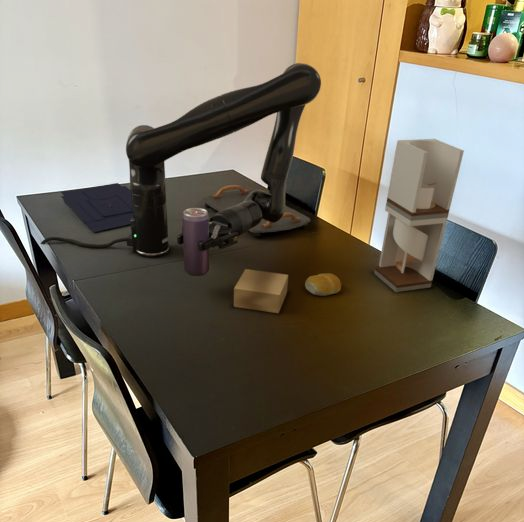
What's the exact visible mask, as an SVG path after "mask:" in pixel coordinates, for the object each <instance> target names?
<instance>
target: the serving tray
mask: <svg viewBox="0 0 524 522" xmlns="http://www.w3.org/2000/svg"><path fill="white" fill-rule="evenodd" d="M230 190H231V191H230ZM232 190H233V191H232ZM253 191H254V190H248V189H244V188H243V187H242V186H241V185H239V184H231V185H225V186H223V187H221V188H220V189H218V191H216V193H215V194H211V195H209V196H206V197H203V198H202V199H201V202H202V203H204V206H205V208H207V209H208V208H209V209H210V208H212V209H213V210H215V211H217V213H218V212H220V211H222V210H225V209H227V208H229V207H232V206H236V205H238V204H240V203H242V202H243V201H244V200H245V199H246V198H247V197H248V196H249V195H250V193H251V192H253ZM310 222H311V218H310V217H309V216H306V215H305V214H303V213H301V212H299V211H297V210H295V209H294V208H291V207H289V206H287V205H286V204H285V210H284V214H283V216H282V217H281V219H280V220H279V221H277V222H275V223H272V222H269V221H266V220H264V219H262V220H261V222H260V223H259V224H258V225H256V226H255V227H253V228H251V229H249V230H248V231H249V232H251V233H253V237H254V239H257V240H258V239H260V238H261V234H266V233H276V232H283V231H289V230H293V229H297V228H300V227H301V229H302V230H305V229H307V227H308V224H309V223H310Z"/></svg>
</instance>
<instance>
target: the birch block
mask: <svg viewBox="0 0 524 522" xmlns="http://www.w3.org/2000/svg"><path fill="white" fill-rule="evenodd" d="M288 284H289V274H285V273H278V272H270V271H263V270H255V269H249V268H248V269H247V268H245V269H244V270H243V273H242V274H241V276H240V278H239V279H238V281H237V282H236V284H235V286H234V288H233V308H239V309H245V310H247V309H248V310H254V311H261V312H267V313H273V314H279V313H280V311H281V308H282V306H283V305H284V301H285V299H286V296H287V293H288Z"/></svg>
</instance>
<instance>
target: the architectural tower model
mask: <svg viewBox="0 0 524 522" xmlns="http://www.w3.org/2000/svg"><path fill="white" fill-rule="evenodd" d="M464 153H465V150H463V149H461V148H459V147H456V146H454V145H452V144H449V143H446V142H444V141H441V140H438V139H436V138H424V139H423V138H421V139H401V140H400V139H399V140H398V139H397V141H396V145H395V151H394V158H393V162H392V169H391V175H390V181H389V185H388V192H387V197H386V203H385V208H384V211H385V212H387V213H388V214H387V218H386V224H385V225H386V226H385V230H384V235H383V239H382V248H381V251H380V257H379V263H378V265H375V266H374V271H373V274H374V275H375V276H376V277H377V278H378V279H380V280H381V281H382V282H383V283H384V284H386V285H387V286H388V287H389V288H390V289H392V290H393V292H395V293H400V292H407V291H408V292H409V291H414V290H421V289H429V288H431V287H432V284H433V279H434V275H435V271H436V267H437V263H438V258H439V254H440V252H441V251H440V250H441V246H442V242H443V239H444V234H445V231H446V227H447V223H448V218H449V213H450V210H451V205H452V202H453V198H454V193H455V188H456V184H457V180H458V176H459V172H460V168H461V164H462V161H463V156H464Z"/></svg>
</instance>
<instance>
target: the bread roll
mask: <svg viewBox="0 0 524 522" xmlns="http://www.w3.org/2000/svg"><path fill="white" fill-rule="evenodd" d="M304 287H305V290H306V291H308V292H309V293H311V294H312V295H314V296H318V297H319V296H320V297H322V296H323V297H325V296H326V297H327V296H330V295H335V294H337V293H339V292H340V291H341V289H342V282H341V280H340V279H339V277H338V276H336V275H335V274H333V273H329V272H326V273H319V274H317V275H315V274H314V275H310V276H308V278H306V280H305V283H304Z"/></svg>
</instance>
